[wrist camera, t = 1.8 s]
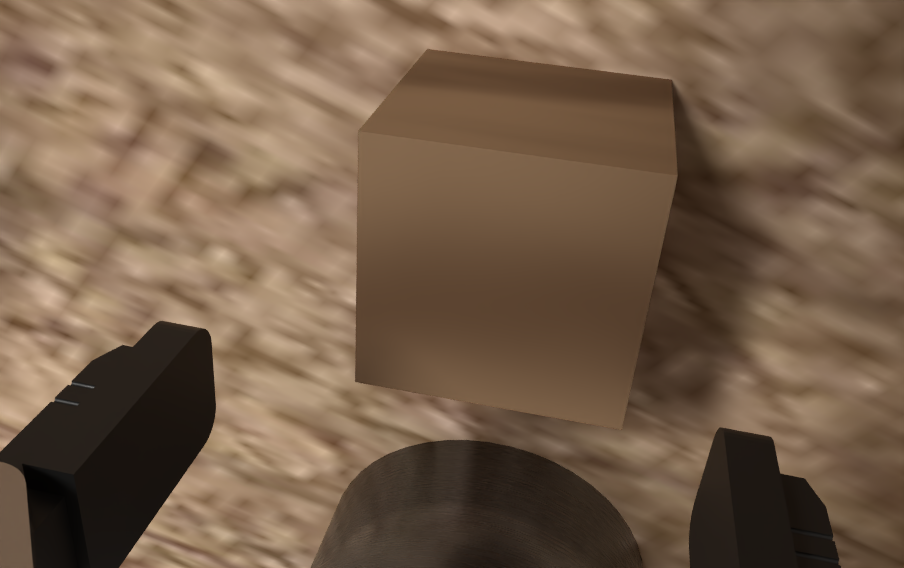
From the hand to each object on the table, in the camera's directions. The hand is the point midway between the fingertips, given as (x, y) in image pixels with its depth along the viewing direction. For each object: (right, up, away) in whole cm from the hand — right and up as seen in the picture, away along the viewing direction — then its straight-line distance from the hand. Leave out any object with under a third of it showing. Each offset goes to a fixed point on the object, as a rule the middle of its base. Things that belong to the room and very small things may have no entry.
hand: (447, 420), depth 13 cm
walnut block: (+2, +5, +7) cm, 9 cm away
